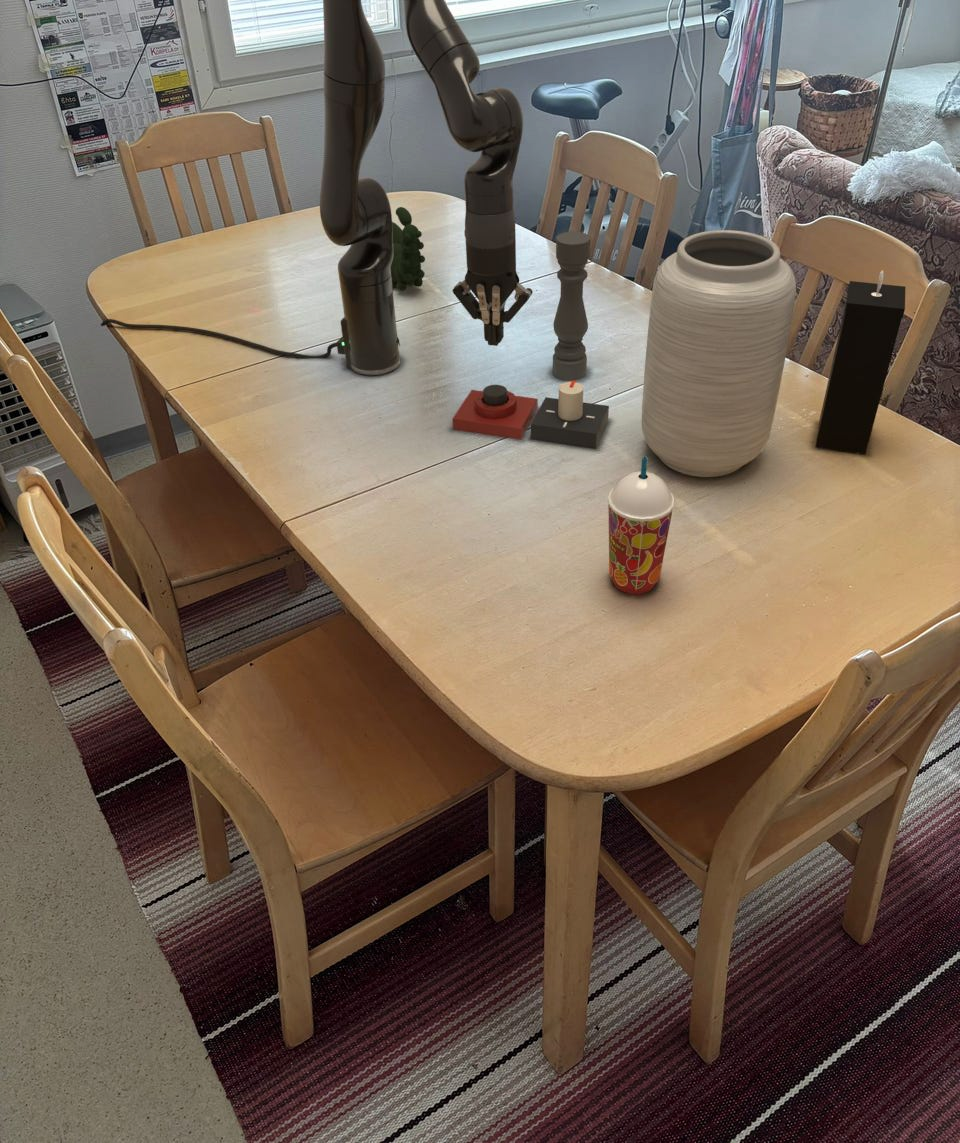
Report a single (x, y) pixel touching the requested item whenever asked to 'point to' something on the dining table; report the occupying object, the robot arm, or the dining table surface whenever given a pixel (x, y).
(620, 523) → the smoothie
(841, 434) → the black pillar candle
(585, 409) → the control panel
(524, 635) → the dining table surface
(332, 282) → the dining table surface
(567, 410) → the knob
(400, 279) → the dark green lumpy figure
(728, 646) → the dining table surface
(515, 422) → the button housing
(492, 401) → the button
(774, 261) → the vase
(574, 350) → the candle holder
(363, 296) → the robot arm
